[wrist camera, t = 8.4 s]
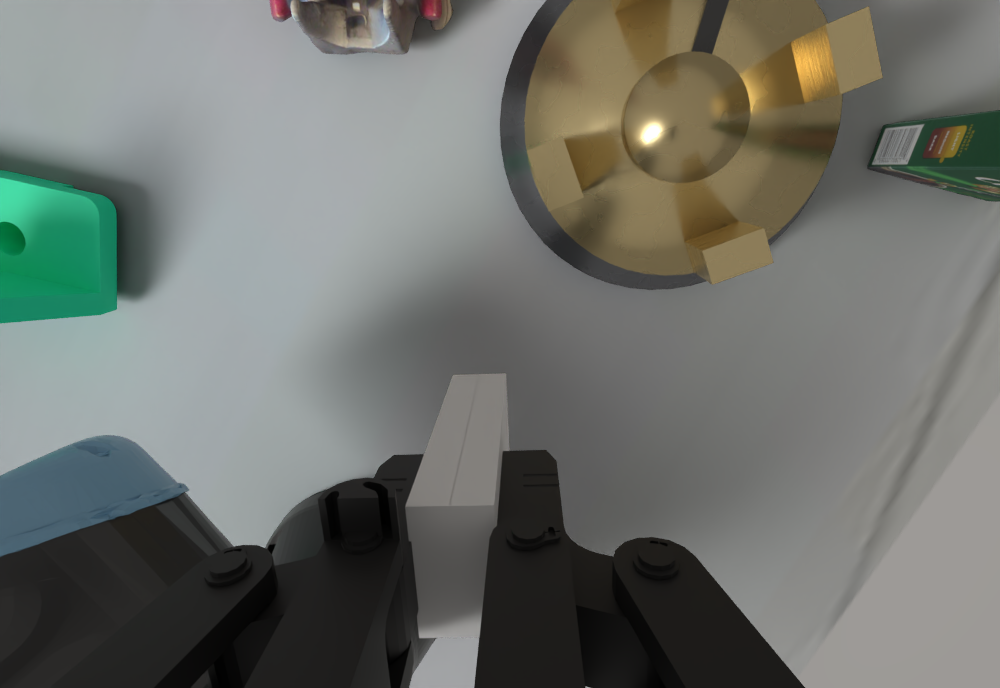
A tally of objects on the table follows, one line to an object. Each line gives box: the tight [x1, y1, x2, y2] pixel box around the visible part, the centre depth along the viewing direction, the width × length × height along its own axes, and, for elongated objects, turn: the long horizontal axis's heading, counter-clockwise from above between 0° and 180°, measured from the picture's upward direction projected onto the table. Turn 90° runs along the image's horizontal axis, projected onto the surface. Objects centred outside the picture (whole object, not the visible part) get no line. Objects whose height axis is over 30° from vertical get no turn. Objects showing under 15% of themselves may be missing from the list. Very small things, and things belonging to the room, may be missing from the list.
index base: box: [500, 0, 824, 290], centre depth 31 cm, size 19×19×5 cm
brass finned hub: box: [524, 0, 883, 285], centre depth 29 cm, size 16×16×6 cm
